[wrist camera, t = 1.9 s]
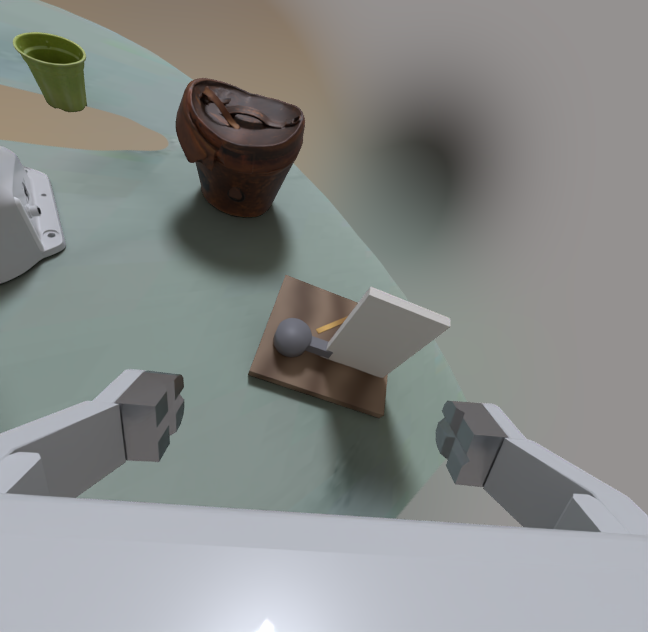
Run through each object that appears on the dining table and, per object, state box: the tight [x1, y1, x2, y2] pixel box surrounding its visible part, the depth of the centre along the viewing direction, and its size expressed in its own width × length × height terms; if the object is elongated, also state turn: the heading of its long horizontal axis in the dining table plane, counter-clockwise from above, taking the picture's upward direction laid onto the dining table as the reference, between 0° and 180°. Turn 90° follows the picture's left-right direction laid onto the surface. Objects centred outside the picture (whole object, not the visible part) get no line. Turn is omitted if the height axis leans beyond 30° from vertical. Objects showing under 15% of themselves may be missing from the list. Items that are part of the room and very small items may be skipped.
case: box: [176, 78, 305, 217], centre depth 54 cm, size 18×20×18 cm
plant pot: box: [13, 32, 87, 112], centre depth 55 cm, size 9×9×9 cm
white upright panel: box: [273, 287, 450, 378], centre depth 41 cm, size 18×5×16 cm, turn 78°
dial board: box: [248, 275, 388, 418], centre depth 50 cm, size 20×18×2 cm
